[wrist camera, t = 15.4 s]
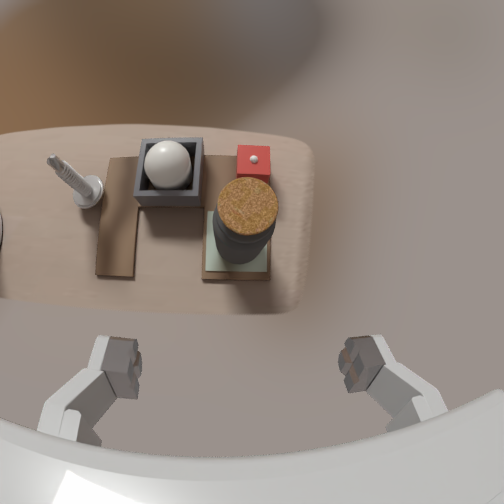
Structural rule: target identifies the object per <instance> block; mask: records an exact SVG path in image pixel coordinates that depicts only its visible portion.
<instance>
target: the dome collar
mask: <svg viewBox="0 0 504 504" xmlns="http://www.w3.org/2000/svg"><path fill="white" fill-rule="evenodd" d="M162 141H174V142H177V143H179V144H181V145H182V146H183V147H184V148H185V149H186V150H187V151H188V154H189V156H195V165H194V177H193V190H148V189H149V181H150V179H149V177H148V176H147V174H146V172H145V168H144V163H145V157H146V155H147V153H148V151H149V150H150V149H151V148H152V147H153V146H154V145H155V144H157V143H159V142H162ZM203 163H204V145H203V138H154V139H142V143H141V148H140V154H139V160H138V166H137V172H136V179H135V186H134V194H133V197H134V198H135V199H136V200H137V201H138V203H139V204H140V205H141V206H201V192H202V177H203Z"/></svg>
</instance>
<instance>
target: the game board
mask: <svg viewBox="0 0 504 504" xmlns="http://www.w3.org/2000/svg"><path fill="white" fill-rule="evenodd" d="M189 157H190V161H191V166H192V170H193V177H194V165H195V156H189ZM138 160H139V156H138V157H120V158H110V162H109V167H108V172H107V177H106V183H105V189H104V196H103V202H102V209H101V217H100V225H99V234H98V245H97V256H96V271H95V275H105V276H127V277H134V263H135V247H136V235H137V223H138V213H139V207H195V208H204V226H203V251H202V279H221V280H270V240H269V241H268V243H267V244H266V245H265V247H264V248H263V249H262V251H261V252H260V253H259V254H258V256H257V257H256V258H255V259H253V260H252V261H250V262H248V263H245V264H233V263H230V262H228V261H226V260H225V259H224V258H223V257H222V256H221V255H220V254H219V252H218V250H217V247H216V243H215V237H214V231H213V223H212V220H213V213H214V210H215V208H216V205H217V202H218V198H219V195H220V193H221V191H222V189H223V188H224V187H225V186H226V185H227V184H228V183H230V182H231V181H233V180H235V179H236V164H237V156H221V155H204V163H203V177H202V192H201V206H141V205H140V204H139V203H138V201H137V200H136V199H135V198H134V197H133V194H134V186H135V179H136V172H137V166H138ZM193 177H192V180H191V183H190V184H189V186H188V187H187V188H186V189H185V190H193ZM267 184H268V185H269V186H270V177H269V180H268V183H267ZM148 190H156V189H155V187H154V186H153V184H152V182H151V181H149V189H148Z"/></svg>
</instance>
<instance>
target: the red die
mask: <svg viewBox="0 0 504 504" xmlns="http://www.w3.org/2000/svg"><path fill="white" fill-rule="evenodd" d="M242 177H252V178H256V179H259V180H261V181H263V182H265V183H266V184H267V183H268V180H269V177H270V147H269V146H252V145H238V150H237V164H236V179H238V178H242Z"/></svg>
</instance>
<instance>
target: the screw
mask: <svg viewBox="0 0 504 504" xmlns="http://www.w3.org/2000/svg"><path fill="white" fill-rule="evenodd" d="M47 164H48V165H49V166H51V167H52V168H53V169H54V170H55V173H56V174H57V175H58V177H60V178H61V179H62V180H63V181H65V182H66V183H67V184H69V186H71V187H72V188H73V189H74V192H73V199H74V202H75V204H76V205H77V206H78V207H80V208H82V209H89V208H92V207H93V206H95V205H96V204H97V203H98V202H99V201H100V199H101V198H102V195H103V191H104V186H103V183H102V181H101V180H100V178H98V177H97V176H94V175H89V176H86V177H84V178H83V177H82V176H80V174H78V173H77V172H76V171H75V170H74V169H73V168H72V167H71V166H70V165H69V164H68V163H67V162H65V161H64V160H60V159H59V158H58V157H57V156H56V155H55V154H51V156H50V157H49V158H48V159H47Z"/></svg>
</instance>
